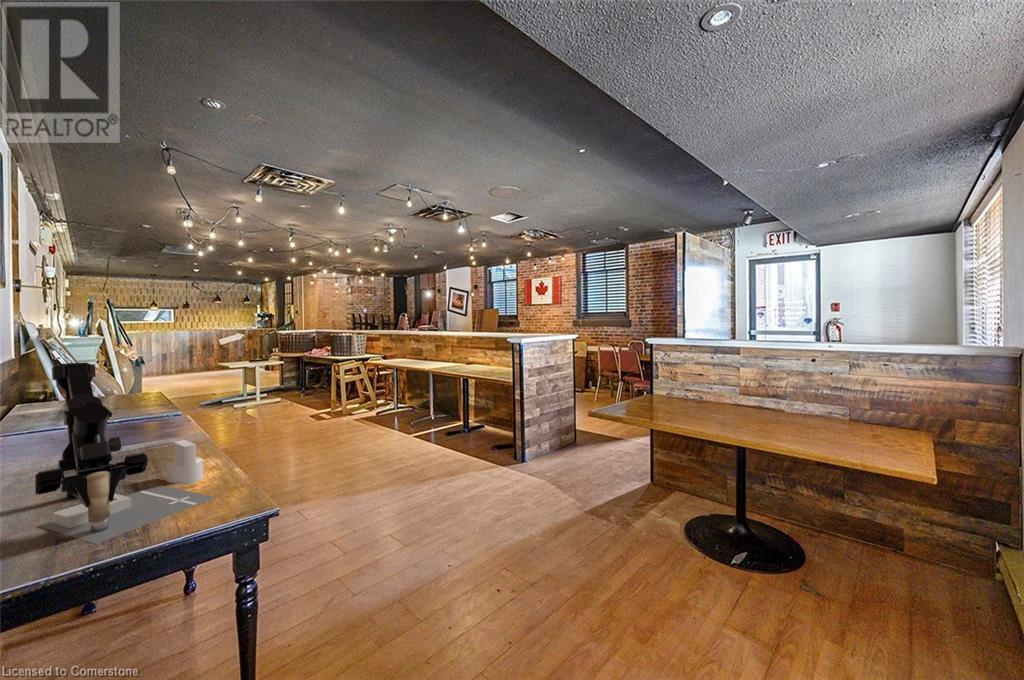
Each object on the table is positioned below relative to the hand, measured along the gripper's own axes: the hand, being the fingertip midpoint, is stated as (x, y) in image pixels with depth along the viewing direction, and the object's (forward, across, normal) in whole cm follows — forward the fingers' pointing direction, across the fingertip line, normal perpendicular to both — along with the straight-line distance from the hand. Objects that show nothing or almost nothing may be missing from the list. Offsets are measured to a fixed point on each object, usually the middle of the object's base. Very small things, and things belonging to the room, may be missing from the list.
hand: (99, 503), depth 96 cm
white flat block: (-4, 0, +14) cm, 15 cm away
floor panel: (-1, +7, +12) cm, 14 cm away
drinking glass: (-13, +22, +24) cm, 36 cm away
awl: (+4, 0, +6) cm, 7 cm away
